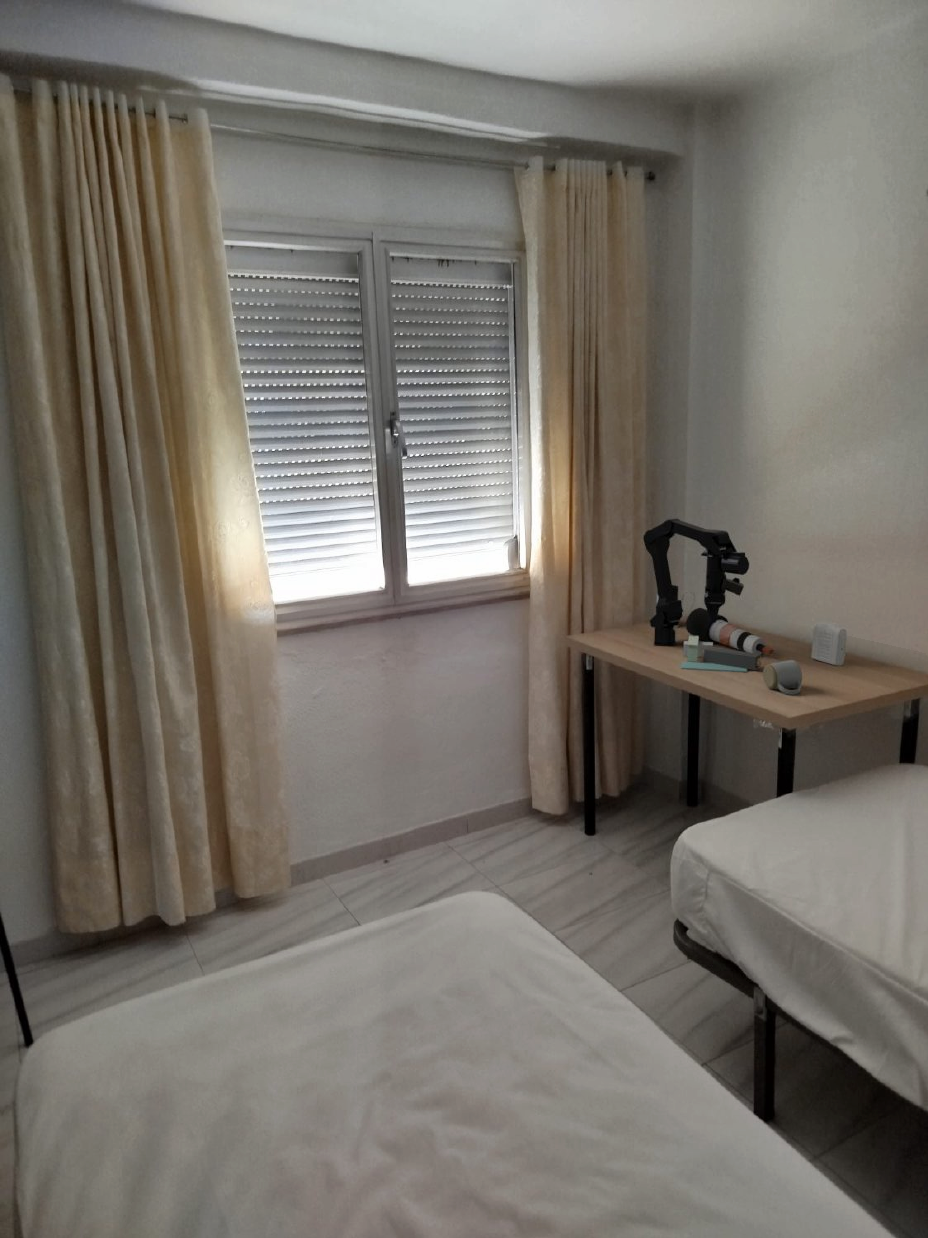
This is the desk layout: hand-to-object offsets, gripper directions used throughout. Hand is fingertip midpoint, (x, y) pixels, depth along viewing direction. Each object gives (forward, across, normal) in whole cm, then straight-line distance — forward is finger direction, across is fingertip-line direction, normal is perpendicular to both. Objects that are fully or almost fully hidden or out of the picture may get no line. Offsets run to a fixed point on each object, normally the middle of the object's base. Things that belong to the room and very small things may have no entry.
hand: (713, 619), depth 253 cm
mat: (+12, -14, 0) cm, 18 cm away
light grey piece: (+12, -3, +6) cm, 14 cm away
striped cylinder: (+12, +12, -6) cm, 18 cm away
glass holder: (+12, +40, +14) cm, 44 cm away
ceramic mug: (+12, -32, -19) cm, 39 cm away
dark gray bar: (+12, -10, -6) cm, 17 cm away
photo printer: (+12, 0, -34) cm, 36 cm away
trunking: (+12, 0, +4) cm, 13 cm away
